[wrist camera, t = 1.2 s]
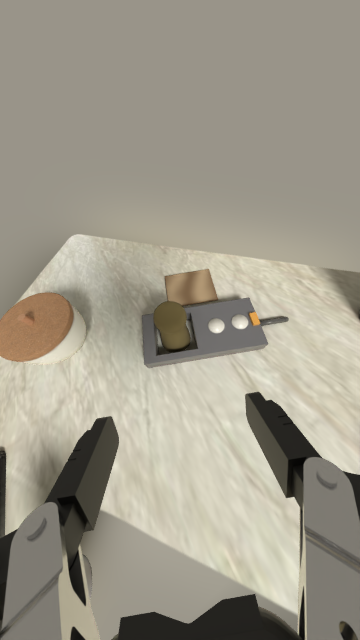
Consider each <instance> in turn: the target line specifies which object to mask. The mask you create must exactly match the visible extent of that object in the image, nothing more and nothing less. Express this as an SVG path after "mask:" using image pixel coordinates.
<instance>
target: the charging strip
mask: <svg viewBox="0 0 360 640" xmlns="http://www.w3.org/2000/svg"><path fill="white" fill-rule="evenodd" d="M184 309H185V311H186V315H187V320H191V322H192V326H193V331H194V336H195V341H196V346H197V349H194V350H188V351H182V352H176V353H170V354H164V355H159V350H158V339H157V328H156V325H155V323H154V319H153V315H154V314H148V315H142V324H143V345H144V365H146V366H147V367H148V368H152V367H158V366H164V365H170V364H176V363H182V362H188V361H194V360H200V359H206V358H212V357H218V356H224V355H230V354H236V353H241V352H247V351H253V350H259V349H263V348H264V347H265V346H266V345H268V342H267V339H266V337H265V334H264V332H263V330H262V327H261V326H264V325H270V324H276V323H282V322H287V321H288V320H289V319H288V317H282V318H276V319H270V320H264V321H259V319H258V316H257V314H256V312H255V310H254V308H253V306H252V303H251V301H250V298H243V299H237V300H231V301H225V302H219V303H213V304H207V305H201V306H195V307H189V308H184Z"/></svg>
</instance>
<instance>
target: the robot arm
mask: <svg viewBox="0 0 360 640" xmlns="http://www.w3.org/2000/svg"><path fill="white" fill-rule="evenodd" d="M359 315H360V310H359ZM245 399H246V416H247V420H248V423H249V425H250V427H251V429H252V431H253V433H254V435H255V437H256V439H257V441H258V443H259V445H260V447H261V449H262V451H263V453H264V455H265V457H266V459H267V461H268V463H269V465H270V467H271V469H272V471H273V473H274V475H275V477H276V479H277V481H278V483H279V485H280V487H281V489H282V491H283V493H284V495H285V497H286V498H290V497H295V499H296V501H297V503H298V505H299V506H300V534H299V590H298V634H297V633H296V632H295V631H294V630H293V629H292V628H291V627H290V626H289V625H288V624H287V623H286V622H285V621H283V620H282V619H281V618H279V617H278V616H277V615H275V614H274V613H272V612H270V611H268V610H266V609H264V608H261V607H258V604H257V600H256V596H255V594H253V595H247V596H241V597H236V598H230V599H224V600H222V601H220V602H219V603H217V604H216V605H215V606H214V607H212V608H211V609H210V610H208V611H207V612H205V613H204V614H203V615H201V616H200V617H199V618H197V619H196V620H195V621H193V622H192V623H189V624H187V623H183V622H180V621H178V620H175V619H172V618H169V617H166V616H164V615H161V614H158V613H156V612H151V613H145V614H139V615H134V616H128V617H122V618H121V620H120V628H119V633H118V634H117V635H116V636H115V637H114V638H113V639H112V640H360V475H357V474H351V473H347V472H344V471H342V470H340V469H339V468H338V467H337V466H336V465H334V464H333V463H331V462H329V461H327V460H325V459H323V458H322V457H321V456H320V455H319V454H318V453H317V451H316V450H315V449H314V448H313V446H312V445H311V444H310V443H309V441H308V440H307V439H306V438H305V436H304V435H303V434H302V433H301V431H300V430H299V429H298V428H297V426H296V425H295V424H294V423H293V421H292V420H291V419H290V418H289V417H288V416H287V414H286V413H285V411H284V410H283V409H282V408H281V406H279V405H278V404H276V403H275V402H273V401H272V400H268V401H266V400H265V399H264V397H263V396H262V395H261V393H260V392H254V393H248V394H246V395H245ZM118 445H119V437H118V433H117V430H116V427H115V424H114V422H113V419H112V417H111V416H109V417H103V418H98V419H96V420H95V422H94V424H93V426H92V428H91V430H87V431H86V432H85V433H84V435H83V436H82V437H81V438H80V439H79V440H78V442H77V444H76V446H75V448H74V450H73V453H71V455H70V457H69V459H68V462H67V463H66V464H65V466H64V468H63V470H62V472H61V474H60V476H59V477H58V479H57V481H56V483H55V485H54V487H53V489H52V490H51V492H50V494H49V496H48V498H47V500H46V501H45V503H44V504H43V505H41V506H39V507H38V508H36V509H35V510H34V511H33V512H32V513H31V514H30V515H29V516H28V517H27V518H26V519H25V520H24V521H23V523H22V524H21V525H20V527H19V528H18V529H17V530H15V531H13V532H11V533H10V534H8V535H6V536H4V537H2V538H0V640H100V636H99V632H98V628H97V625H96V622H95V619H94V616H93V613H92V609H91V604H90V598H89V592H88V586H87V580H86V574H85V568H84V562H83V556H82V550H81V546H80V541H81V539H82V536H83V533H84V532H85V531H91V530H94V527H95V524H96V520H97V517H98V513H99V510H100V507H101V503H102V500H103V497H104V493H105V490H106V486H107V483H108V480H109V476H110V473H111V470H112V466H113V463H114V459H115V456H116V453H117V449H118Z"/></svg>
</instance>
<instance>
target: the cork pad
mask: <svg viewBox="0 0 360 640" xmlns="http://www.w3.org/2000/svg"><path fill="white" fill-rule="evenodd" d="M165 281H166V289H167V296H168V301H174V302H177V303H179V304H180V305H182V306H186V305H192V304H198V303H204V302H210V301H216V300H218V298H217V294H216V291H215V288H214V285H213V281H212V278H211V275H210V272H209V269H206V270H200V271H194V272H188V273H182V274H176V275H170V276H165Z"/></svg>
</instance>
